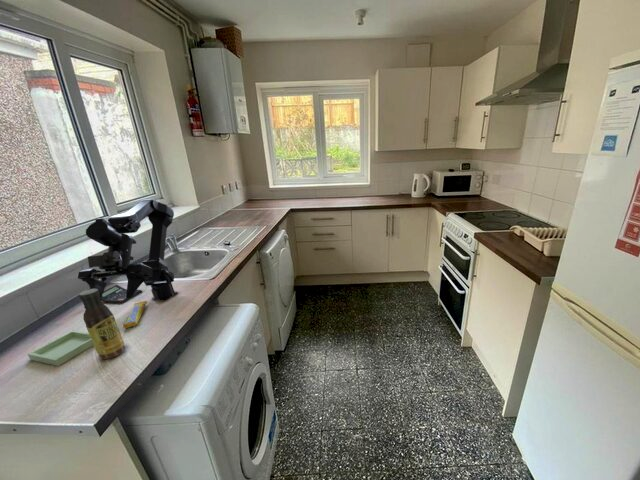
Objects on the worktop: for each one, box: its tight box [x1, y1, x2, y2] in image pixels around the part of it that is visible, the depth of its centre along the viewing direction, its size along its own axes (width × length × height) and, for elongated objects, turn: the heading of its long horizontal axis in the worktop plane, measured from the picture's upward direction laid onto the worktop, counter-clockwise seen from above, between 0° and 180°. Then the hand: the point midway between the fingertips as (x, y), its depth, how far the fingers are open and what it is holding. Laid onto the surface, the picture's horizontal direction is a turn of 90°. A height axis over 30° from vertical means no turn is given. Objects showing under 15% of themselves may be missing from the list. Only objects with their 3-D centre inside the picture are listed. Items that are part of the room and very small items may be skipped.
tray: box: [27, 330, 94, 367], centre depth 85 cm, size 12×12×2 cm
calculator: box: [101, 284, 143, 304], centre depth 115 cm, size 9×12×3 cm
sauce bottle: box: [78, 288, 126, 360], centre depth 79 cm, size 6×6×20 cm
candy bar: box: [122, 300, 148, 329], centre depth 101 cm, size 17×4×2 cm, turn 23°
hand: (112, 300), depth 85 cm, fingers open, 9 cm apart
